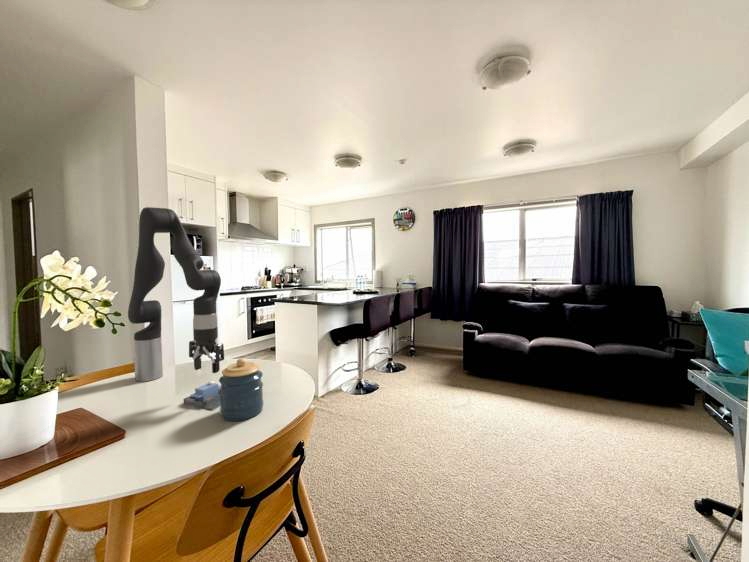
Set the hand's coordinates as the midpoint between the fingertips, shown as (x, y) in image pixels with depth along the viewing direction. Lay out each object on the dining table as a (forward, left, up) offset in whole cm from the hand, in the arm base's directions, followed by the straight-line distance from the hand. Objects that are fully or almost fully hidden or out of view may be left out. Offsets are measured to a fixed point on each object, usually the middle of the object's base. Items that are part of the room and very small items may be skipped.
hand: (206, 370), depth 108 cm
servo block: (0, 0, -10) cm, 10 cm away
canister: (+19, -3, -11) cm, 22 cm away
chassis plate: (+2, 0, -10) cm, 11 cm away
